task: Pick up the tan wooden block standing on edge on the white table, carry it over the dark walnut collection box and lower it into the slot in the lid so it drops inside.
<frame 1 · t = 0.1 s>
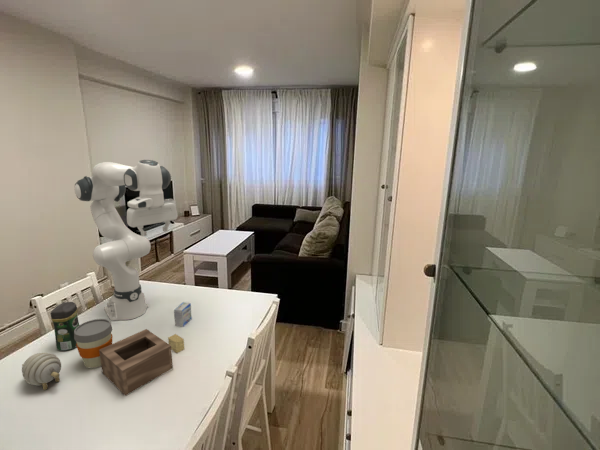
hand: (155, 233, 135), 48 cm above the table, fingers open, 8 cm apart
coffee jar: (69, 345, 138), on the table
toy sheep: (44, 383, 116), on the table
reusable coffee cup: (97, 361, 128), on the table
tan wooden block: (176, 348, 137), on the table
medicine box: (183, 322, 157), on the table
collection box: (138, 370, 123), on the table
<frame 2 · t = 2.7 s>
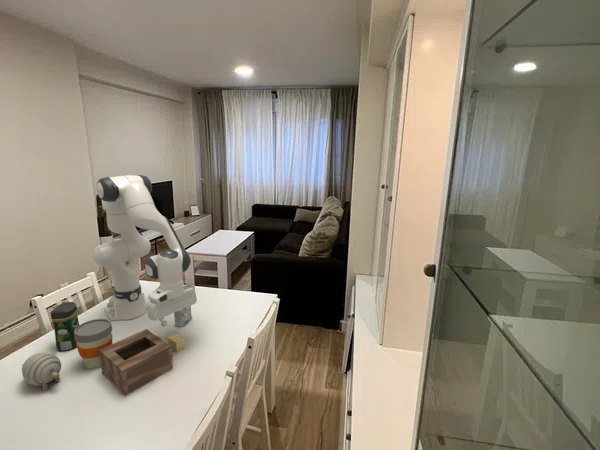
hand: (174, 320, 134), 13 cm above the table, fingers open, 8 cm apart
nothing on the table moved.
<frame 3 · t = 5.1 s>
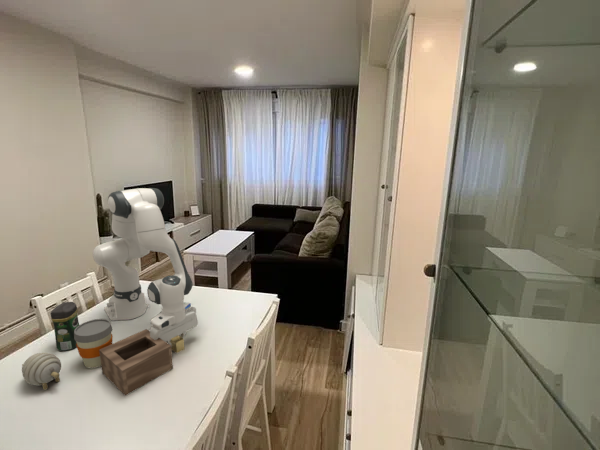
hand: (176, 344, 137), 2 cm above the table, fingers closed on tan wooden block, 3 cm apart
tan wooden block: (176, 348, 137), on the table, touching gripper
everything else where it was.
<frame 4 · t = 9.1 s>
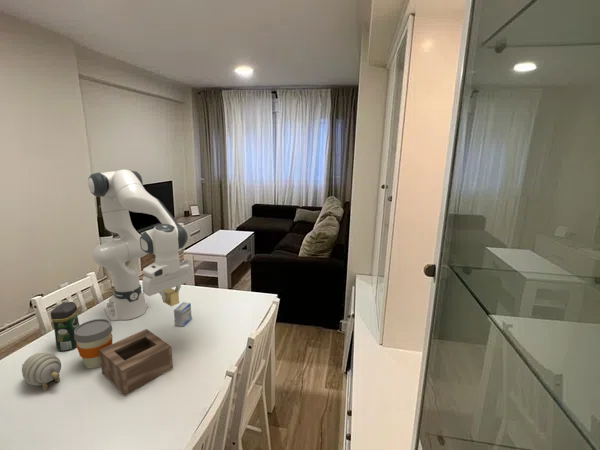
hand: (170, 297, 131), 24 cm above the table, fingers closed on tan wooden block, 3 cm apart
tan wooden block: (171, 302, 131), point 22 cm above the table, touching gripper
everything else where it was.
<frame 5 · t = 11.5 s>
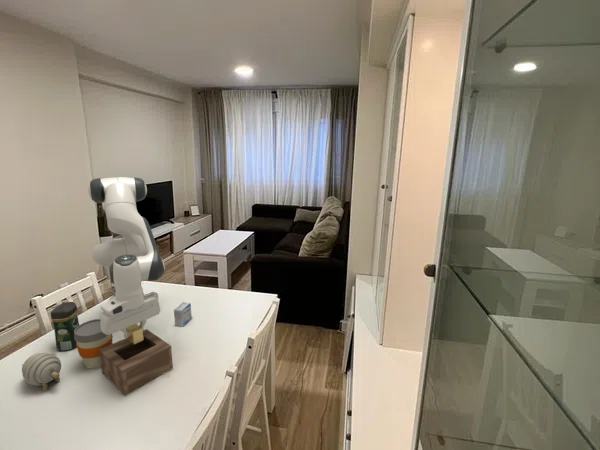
hand: (134, 334, 120), 16 cm above the table, fingers closed on tan wooden block, 3 cm apart
tan wooden block: (134, 339, 120), point 14 cm above the table, touching gripper
everything else where it was.
when the fingers open (12 cm above the table, at t = 13.4 s): tan wooden block drops 10 cm, resting in collection box.
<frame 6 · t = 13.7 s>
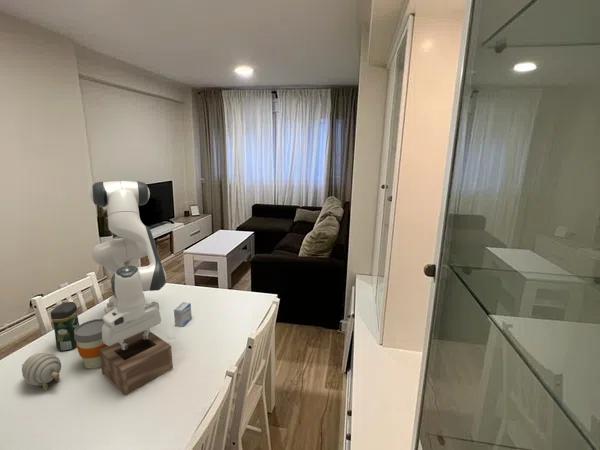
hand: (135, 343, 121), 12 cm above the table, fingers open, 6 cm apart
tan wooden block: (138, 370, 123), resting in collection box
everything else where it was.
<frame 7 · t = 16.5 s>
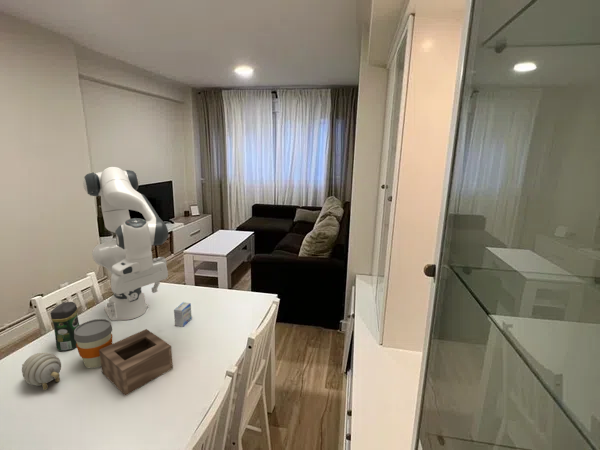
hand: (142, 296, 123), 28 cm above the table, fingers open, 8 cm apart
nothing on the table moved.
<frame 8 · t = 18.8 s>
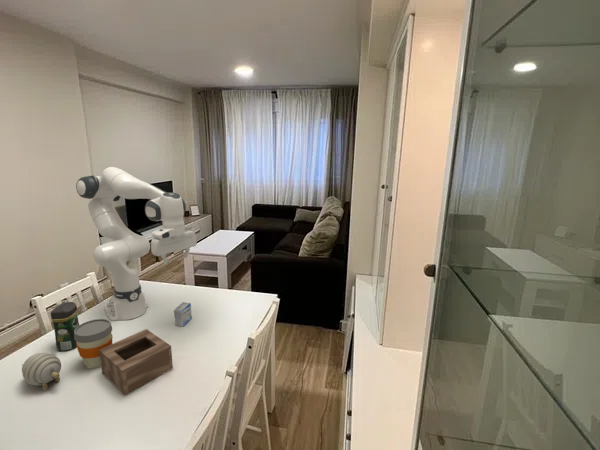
hand: (176, 260, 144), 34 cm above the table, fingers open, 8 cm apart
nothing on the table moved.
at the end: tan wooden block inside the target area on the collection box (0.1 cm from its centre), point 0.0 cm above the collection box's base; the gripper is holding nothing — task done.
